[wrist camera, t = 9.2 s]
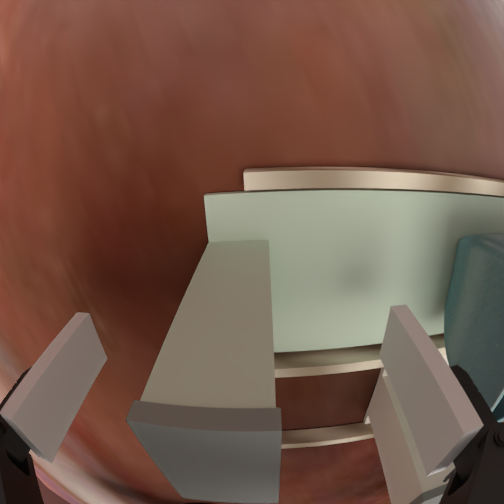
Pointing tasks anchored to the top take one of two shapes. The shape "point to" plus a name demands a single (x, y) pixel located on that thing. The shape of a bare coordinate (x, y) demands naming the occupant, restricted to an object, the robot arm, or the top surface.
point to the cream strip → (401, 450)
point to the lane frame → (362, 355)
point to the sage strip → (288, 316)
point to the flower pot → (478, 315)
